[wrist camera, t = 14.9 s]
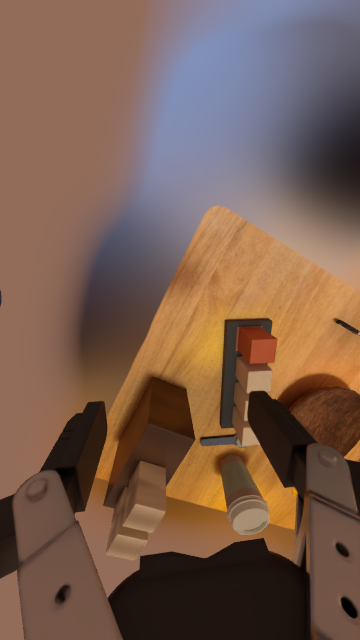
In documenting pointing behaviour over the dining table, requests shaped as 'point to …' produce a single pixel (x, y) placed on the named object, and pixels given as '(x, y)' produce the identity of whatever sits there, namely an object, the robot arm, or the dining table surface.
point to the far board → (231, 365)
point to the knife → (348, 327)
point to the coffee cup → (242, 497)
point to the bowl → (330, 417)
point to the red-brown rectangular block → (257, 345)
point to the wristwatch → (222, 441)
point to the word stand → (147, 465)
